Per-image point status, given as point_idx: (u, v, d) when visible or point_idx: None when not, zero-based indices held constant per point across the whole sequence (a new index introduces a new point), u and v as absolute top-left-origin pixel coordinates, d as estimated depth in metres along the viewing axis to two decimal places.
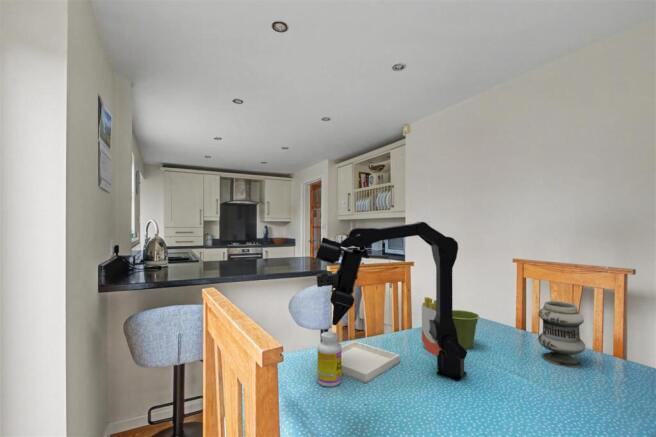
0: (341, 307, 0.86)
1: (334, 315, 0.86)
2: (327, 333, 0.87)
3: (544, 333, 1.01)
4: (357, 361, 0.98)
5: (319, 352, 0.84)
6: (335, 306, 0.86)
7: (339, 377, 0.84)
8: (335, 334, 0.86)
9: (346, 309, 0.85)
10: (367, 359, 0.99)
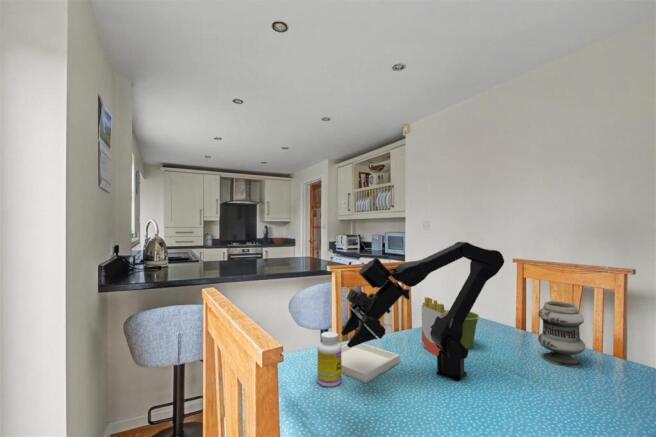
0: (365, 333, 0.82)
1: (354, 338, 0.82)
2: (327, 333, 0.87)
3: (544, 333, 1.01)
4: (357, 361, 0.98)
5: (319, 352, 0.84)
6: (361, 330, 0.81)
7: (339, 377, 0.84)
8: (335, 334, 0.86)
9: (369, 338, 0.81)
10: (367, 359, 0.99)
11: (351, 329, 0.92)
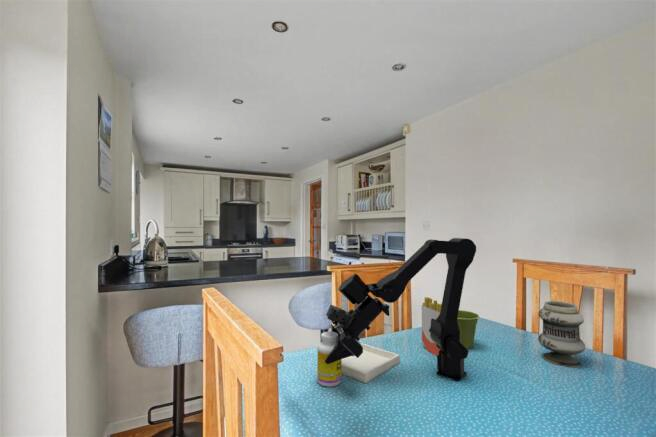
0: (342, 350, 0.82)
1: (332, 354, 0.82)
2: (327, 333, 0.87)
3: (544, 333, 1.01)
4: (357, 361, 0.98)
5: (319, 352, 0.84)
6: (338, 347, 0.81)
7: (339, 377, 0.84)
8: (335, 334, 0.86)
9: (347, 355, 0.81)
10: (367, 359, 0.99)
11: None
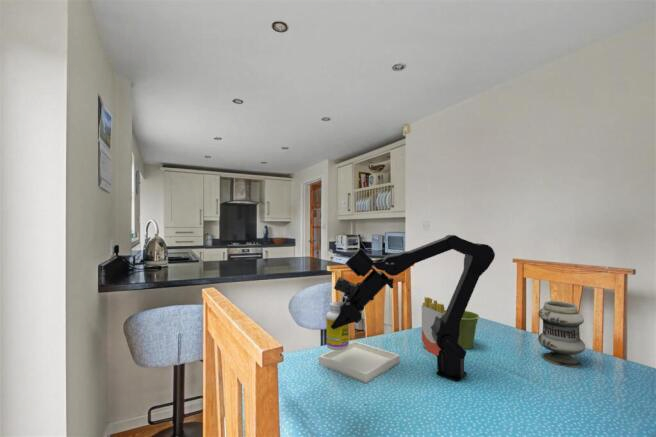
0: (346, 317, 0.89)
1: (336, 320, 0.90)
2: (336, 302, 0.95)
3: (544, 333, 1.01)
4: (357, 361, 0.98)
5: (327, 319, 0.93)
6: (341, 313, 0.89)
7: (345, 342, 0.91)
8: None
9: (349, 321, 0.88)
10: (367, 359, 0.99)
11: None
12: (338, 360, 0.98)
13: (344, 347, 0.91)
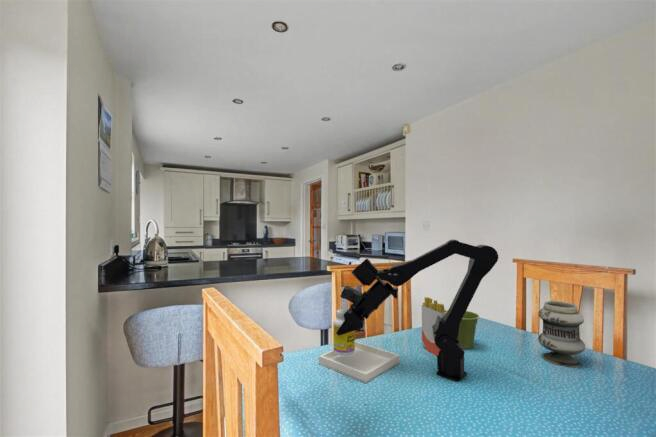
0: (350, 324, 0.93)
1: (341, 327, 0.94)
2: (343, 310, 1.00)
3: (544, 333, 1.01)
4: (357, 361, 0.98)
5: (333, 325, 0.98)
6: (345, 321, 0.93)
7: (350, 349, 0.95)
8: None
9: (353, 328, 0.92)
10: (367, 359, 0.99)
11: None
12: (338, 360, 0.98)
13: (349, 353, 0.95)
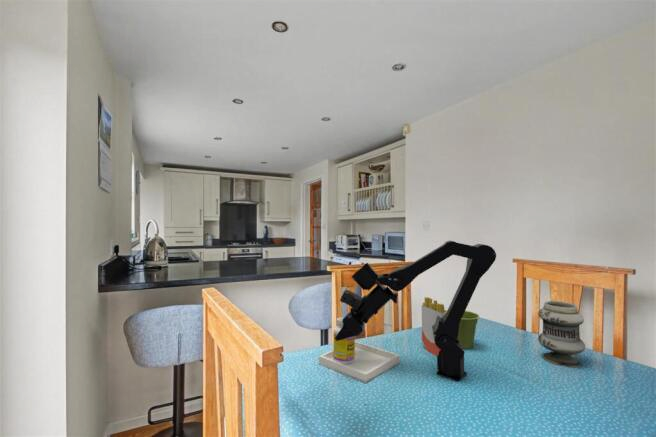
0: (349, 330, 0.92)
1: (340, 332, 0.93)
2: (343, 318, 1.00)
3: (544, 333, 1.01)
4: (357, 361, 0.98)
5: (334, 333, 0.98)
6: (344, 326, 0.92)
7: (350, 357, 0.95)
8: None
9: (352, 334, 0.91)
10: (367, 359, 0.99)
11: None
12: None
13: (349, 361, 0.95)
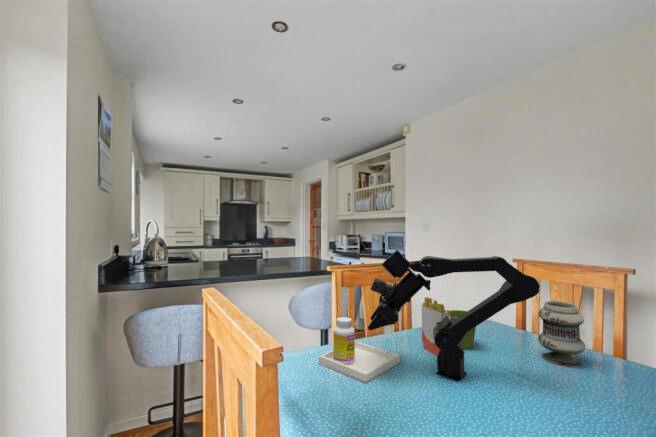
0: (382, 319, 0.90)
1: (373, 322, 0.91)
2: (343, 318, 1.00)
3: (544, 333, 1.01)
4: (357, 361, 0.98)
5: None
6: (378, 315, 0.90)
7: (350, 357, 0.95)
8: (349, 319, 0.98)
9: (386, 323, 0.89)
10: (367, 359, 0.99)
11: None
12: None
13: (349, 362, 0.95)
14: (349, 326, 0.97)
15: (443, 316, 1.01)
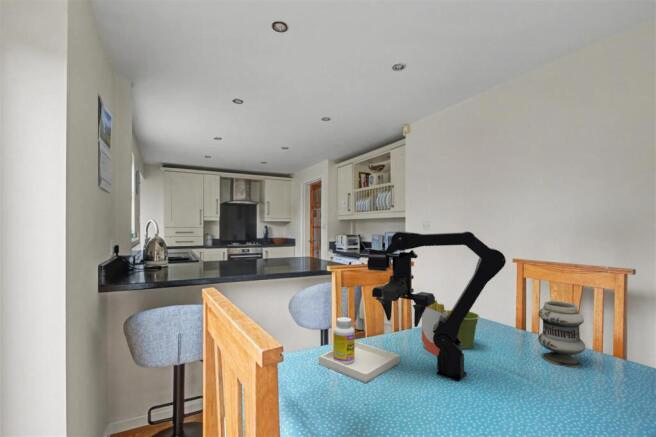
0: (420, 308, 0.92)
1: (418, 318, 0.92)
2: (343, 318, 1.00)
3: (544, 333, 1.01)
4: (357, 361, 0.98)
5: None
6: (419, 310, 0.91)
7: (350, 357, 0.95)
8: (348, 319, 0.98)
9: (424, 307, 0.93)
10: (367, 359, 0.99)
11: (390, 310, 1.00)
12: None
13: (349, 362, 0.95)
14: (349, 326, 0.97)
15: (443, 316, 1.01)
